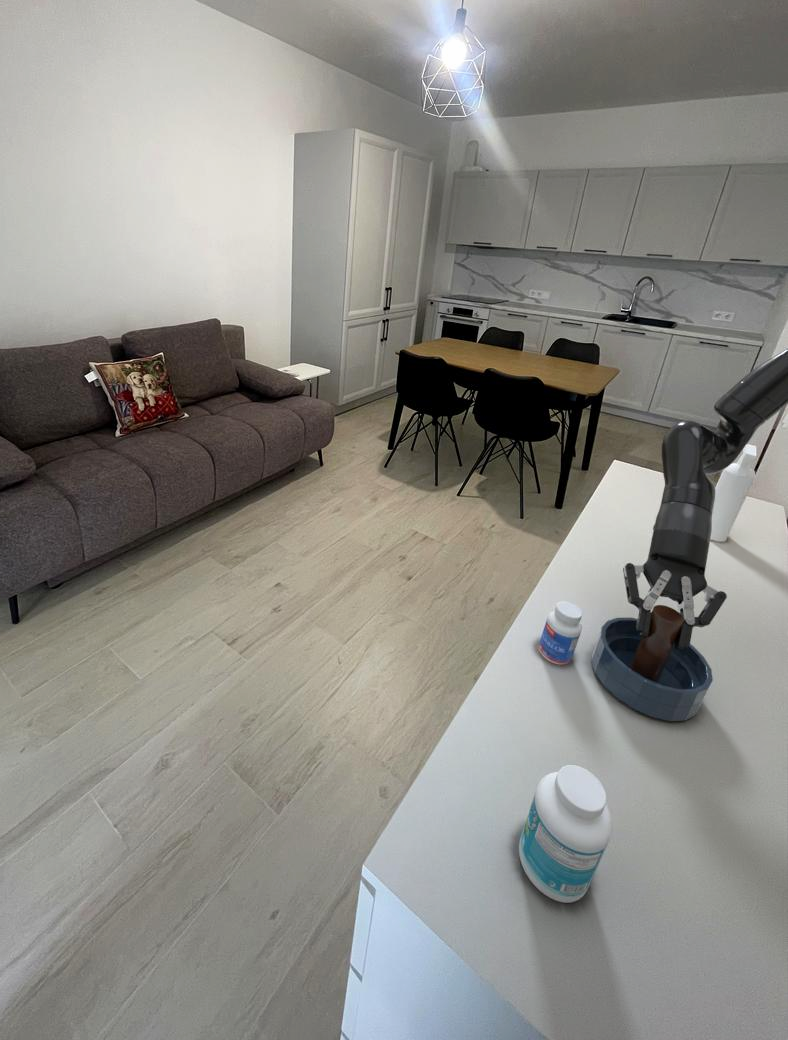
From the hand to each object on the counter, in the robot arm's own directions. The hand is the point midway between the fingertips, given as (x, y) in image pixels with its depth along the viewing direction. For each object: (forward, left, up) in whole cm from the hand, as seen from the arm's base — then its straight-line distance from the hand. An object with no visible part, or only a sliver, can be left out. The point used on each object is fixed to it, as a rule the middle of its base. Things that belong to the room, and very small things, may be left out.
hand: (661, 642), depth 74 cm
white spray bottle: (+7, -72, -11) cm, 73 cm away
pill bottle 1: (+13, +2, -11) cm, 17 cm away
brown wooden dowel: (+1, -2, -9) cm, 9 cm away
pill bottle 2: (-2, +33, -11) cm, 35 cm away
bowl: (+1, -4, -11) cm, 12 cm away
